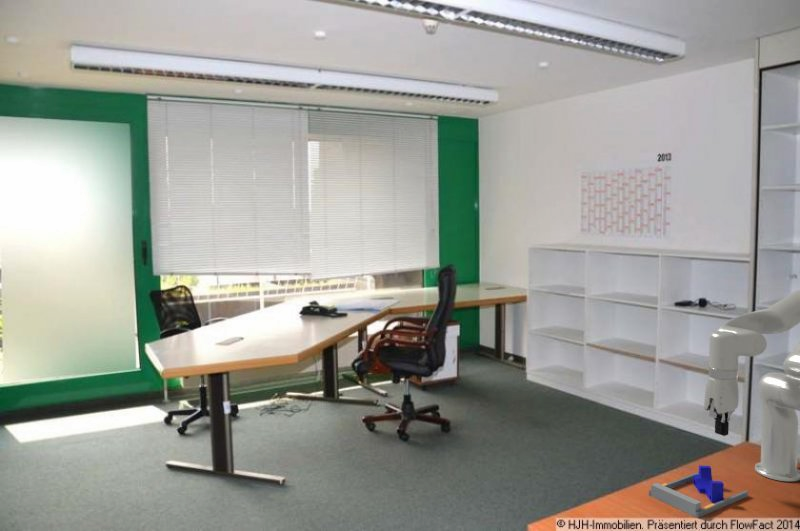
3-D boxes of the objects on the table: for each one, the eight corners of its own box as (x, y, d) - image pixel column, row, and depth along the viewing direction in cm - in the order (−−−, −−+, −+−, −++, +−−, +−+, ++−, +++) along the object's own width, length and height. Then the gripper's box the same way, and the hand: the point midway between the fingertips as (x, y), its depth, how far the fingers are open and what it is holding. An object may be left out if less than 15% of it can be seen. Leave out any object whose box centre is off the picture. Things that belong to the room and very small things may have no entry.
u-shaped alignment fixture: (698, 476, 186) (698, 465, 186) (748, 496, 172) (748, 484, 172) (648, 495, 175) (648, 483, 175) (698, 518, 161) (698, 505, 161)
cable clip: (693, 484, 181) (693, 465, 181) (709, 485, 181) (709, 465, 180) (706, 503, 170) (706, 482, 169) (723, 504, 169) (723, 483, 168)
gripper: (726, 367, 183) (724, 425, 184) (695, 374, 176) (694, 435, 177) (750, 372, 176) (748, 433, 178) (719, 380, 169) (718, 443, 171)
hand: (721, 433), depth 178 cm, fingers closed
